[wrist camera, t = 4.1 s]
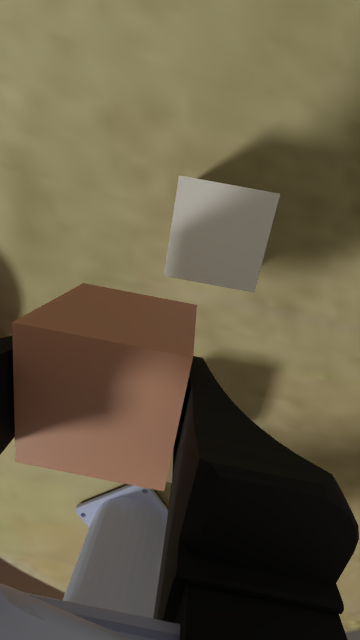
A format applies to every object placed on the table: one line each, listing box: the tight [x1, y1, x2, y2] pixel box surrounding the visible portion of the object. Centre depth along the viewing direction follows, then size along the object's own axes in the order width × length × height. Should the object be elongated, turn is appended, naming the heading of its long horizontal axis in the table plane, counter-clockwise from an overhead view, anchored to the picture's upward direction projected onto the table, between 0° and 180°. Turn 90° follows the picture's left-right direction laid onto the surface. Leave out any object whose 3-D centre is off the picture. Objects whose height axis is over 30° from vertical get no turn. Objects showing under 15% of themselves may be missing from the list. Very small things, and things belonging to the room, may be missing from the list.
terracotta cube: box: [12, 283, 197, 491], centre depth 11 cm, size 5×5×5 cm
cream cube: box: [164, 176, 280, 292], centre depth 17 cm, size 5×5×5 cm
